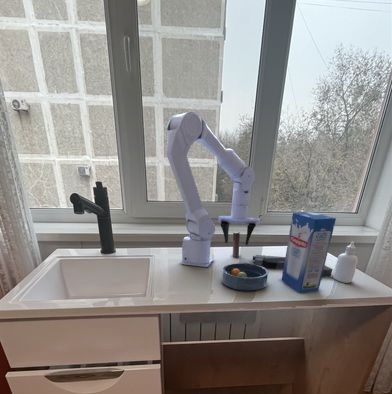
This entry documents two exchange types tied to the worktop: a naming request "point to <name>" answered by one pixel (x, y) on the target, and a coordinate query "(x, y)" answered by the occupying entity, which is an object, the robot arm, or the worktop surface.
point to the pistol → (280, 263)
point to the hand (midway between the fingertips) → (236, 243)
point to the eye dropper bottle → (346, 265)
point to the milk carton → (307, 250)
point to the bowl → (251, 282)
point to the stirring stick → (236, 244)
